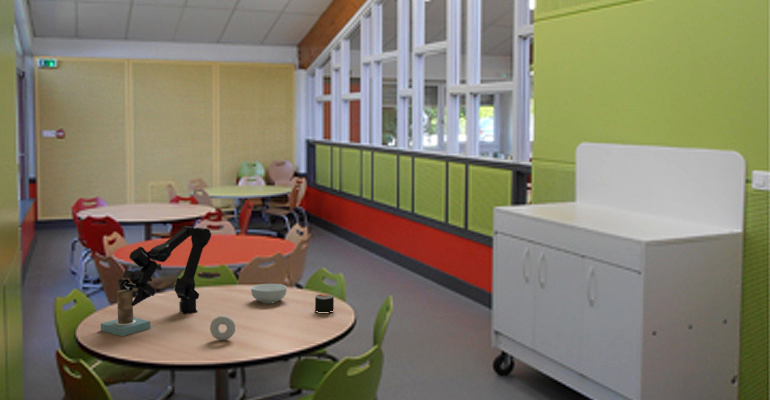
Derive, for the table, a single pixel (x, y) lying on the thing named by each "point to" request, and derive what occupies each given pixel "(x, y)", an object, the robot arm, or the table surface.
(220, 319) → the donut
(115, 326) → the plinth
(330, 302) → the sushi
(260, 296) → the cereal bowl
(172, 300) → the table surface
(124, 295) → the walnut post
